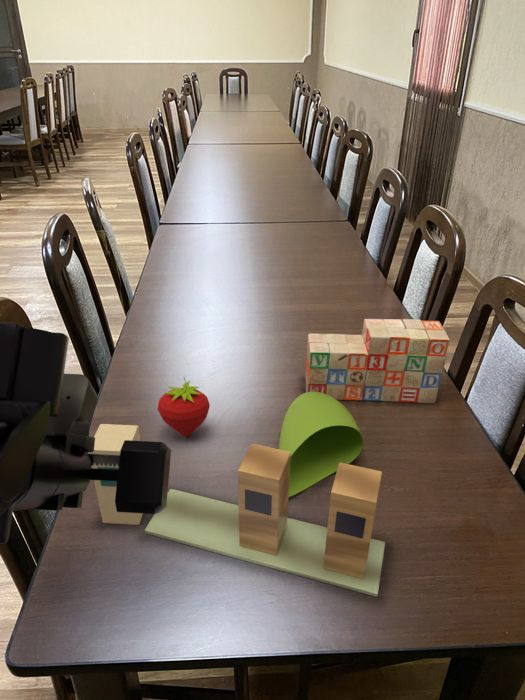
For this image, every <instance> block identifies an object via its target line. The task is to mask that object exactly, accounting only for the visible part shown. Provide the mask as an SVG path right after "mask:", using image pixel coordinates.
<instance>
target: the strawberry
mask: <svg viewBox="0 0 525 700" xmlns="http://www.w3.org/2000/svg"><path fill="white" fill-rule="evenodd" d="M183 381H184V383H183V384H182V387H178V386H177V387H175V386H168V389H171V390H168V391H167V392H164V394H163V395H161V397H160V398H159V400H158V403H157V411H158V413H159V415H160V417H161V419H162V421H163V422H164V423H165V424H166V425H167V426H169V427H170V428H171V429H172V430H174V431H175V432H177V433H178V434H179V435H181V436H182V437H189V436H191V435H192V434H193V433H194V432H195V431H196V430H198V428H200V426H202V424H203V423H204V421H205V420H206V419H207V417H208V414H209V411H210V408H211V407H210V406H211V405H210V401H209V398H208V396H207V395H206V394H205V393H203V392H202V391H200V390H198V389H199V386H193V385H192V386H191V385H190V383H191V380H189V381H187V382H186V377H185V376H183Z"/></svg>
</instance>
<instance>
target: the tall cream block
mask: <svg viewBox="0 0 525 700" xmlns="http://www.w3.org/2000/svg"><path fill="white" fill-rule="evenodd" d="M93 437H94V438H95V445H94V451H93V452H88V454H104V455H120V451H121V448H122V445H123V443H124V441H125V440H131V441H141V436H140V428H139V425H135V424H134V425H133V424H114V423H100V424H99V426H98V428H97V430H96V431H95V434H94V436H93ZM92 468H98V469H119V467H118V466H117V465H116V467H114V466H113V464H112V466H109V464H108V465H107V466H105V465H104V464H103V466H100V463H99V465H98V466H96V463H95V464H94V465H92ZM93 482H94V486H95V492H96V496H97V501H98V506H99V511H100V515H101V516H100V517H101V520H102V523H103V524H115V525H130V526H131V525H133V526H140V525H141V521H142V518H143V515H144V513H126V512H117V510H116V505H115V496H116V487H117V481H102V480H93Z"/></svg>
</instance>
